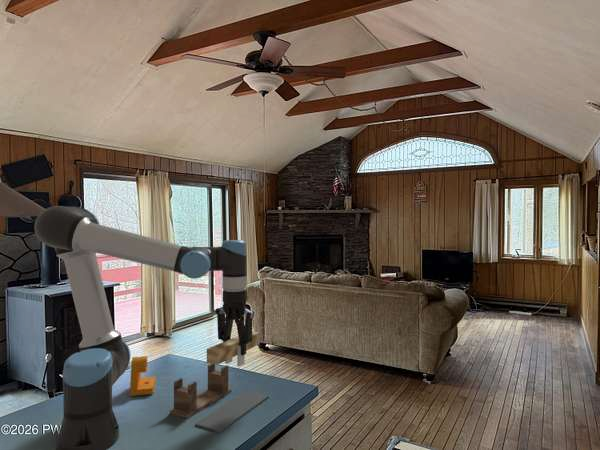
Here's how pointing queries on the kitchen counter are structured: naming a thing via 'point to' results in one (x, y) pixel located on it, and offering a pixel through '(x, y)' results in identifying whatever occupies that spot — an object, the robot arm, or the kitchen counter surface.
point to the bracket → (193, 403)
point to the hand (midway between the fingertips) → (234, 363)
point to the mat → (231, 411)
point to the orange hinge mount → (137, 383)
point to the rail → (229, 349)
